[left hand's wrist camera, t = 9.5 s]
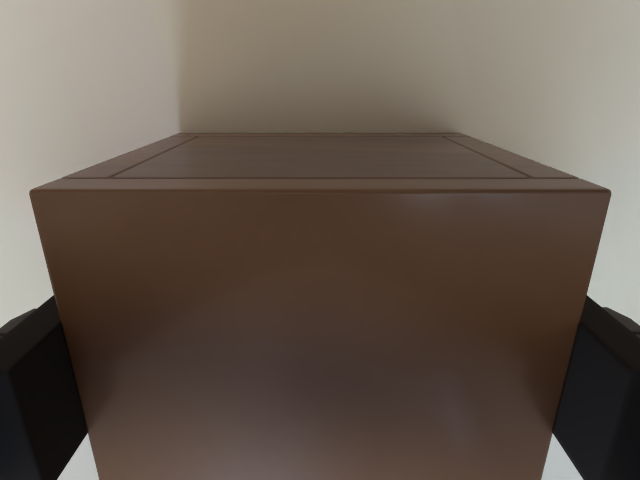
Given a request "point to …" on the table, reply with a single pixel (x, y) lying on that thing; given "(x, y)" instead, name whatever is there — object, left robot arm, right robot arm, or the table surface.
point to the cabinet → (320, 305)
